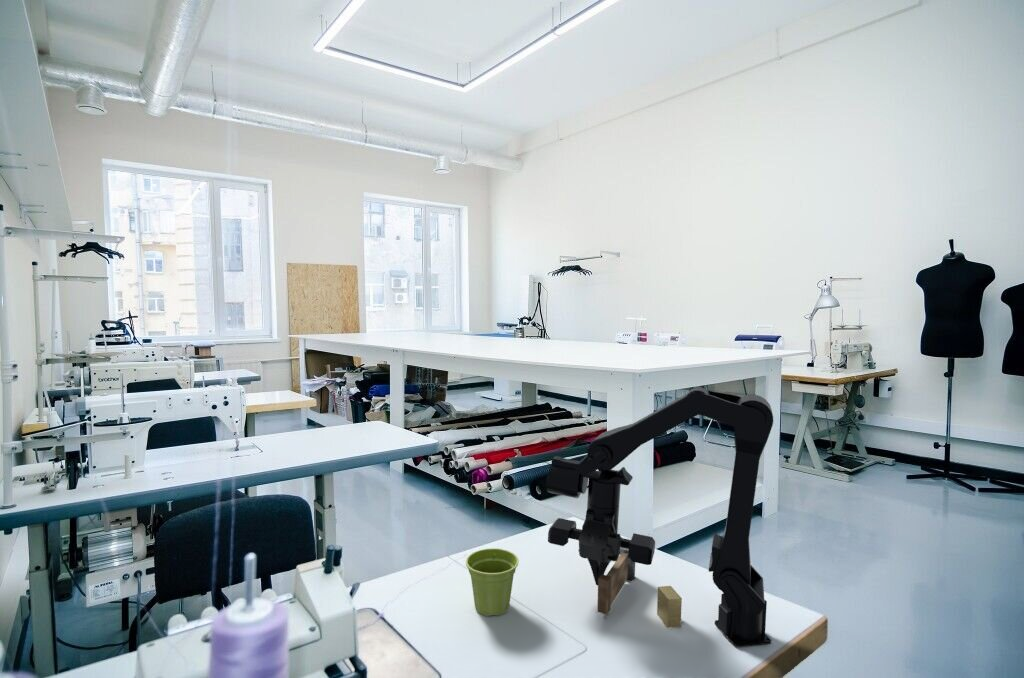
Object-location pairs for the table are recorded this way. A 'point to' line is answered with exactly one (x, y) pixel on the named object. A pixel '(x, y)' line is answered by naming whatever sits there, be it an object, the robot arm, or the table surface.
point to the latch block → (669, 606)
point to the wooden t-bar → (612, 584)
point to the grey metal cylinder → (630, 568)
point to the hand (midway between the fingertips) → (598, 584)
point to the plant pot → (492, 579)
